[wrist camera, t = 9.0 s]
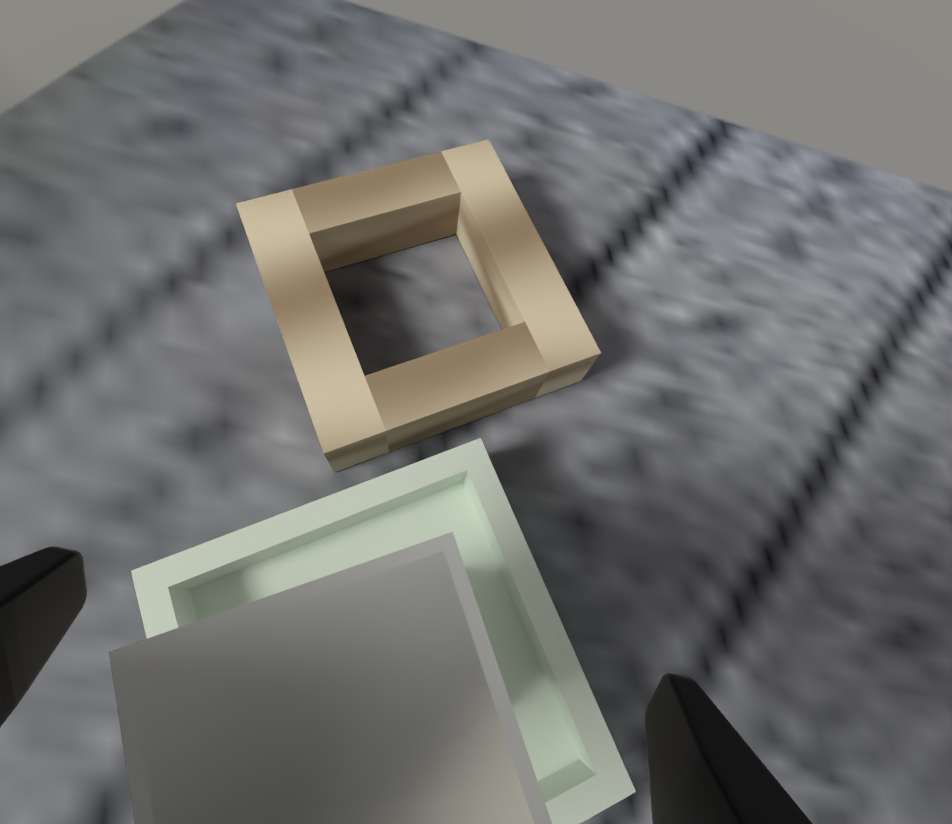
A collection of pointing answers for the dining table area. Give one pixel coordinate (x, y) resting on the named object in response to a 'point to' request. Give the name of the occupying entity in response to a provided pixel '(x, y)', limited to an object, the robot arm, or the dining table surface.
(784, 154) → the dining table surface
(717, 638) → the dining table surface
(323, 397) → the collar block
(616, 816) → the dining table surface
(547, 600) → the tray
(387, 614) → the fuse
